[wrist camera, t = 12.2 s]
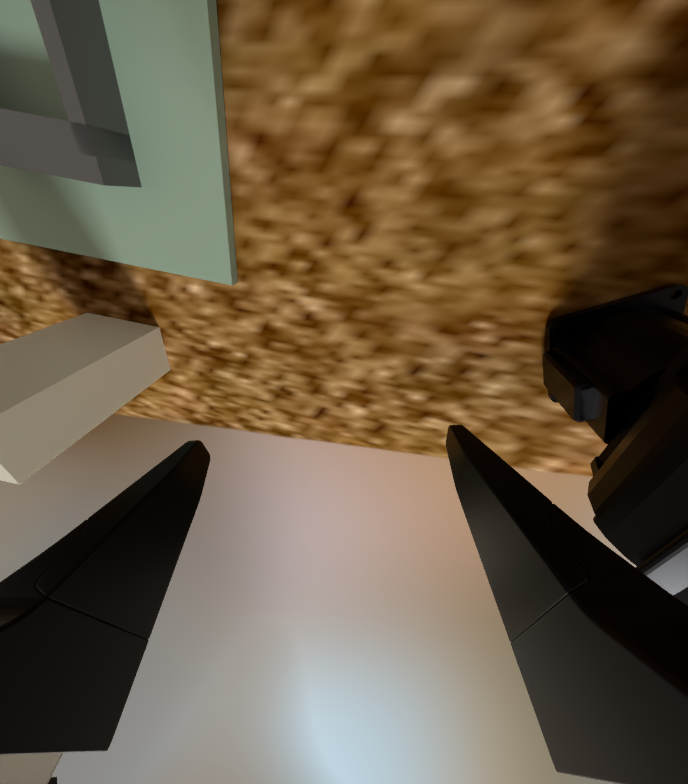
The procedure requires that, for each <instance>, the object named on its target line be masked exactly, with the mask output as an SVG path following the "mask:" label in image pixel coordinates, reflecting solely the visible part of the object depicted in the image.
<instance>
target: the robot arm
mask: <svg viewBox="0 0 688 784" xmlns="http://www.w3.org/2000/svg"><path fill="white" fill-rule="evenodd" d="M674 291H676V293H675V294H674V295H673V296H671V294H672V293H673V292H674ZM670 296H671V297H670ZM687 296H688V287H687V286H685V285H681V284H677V283H675V284H670V285H667V286H663V287H660V288H656V289H653V290H649V291H646V292H643V293H639V294H636V295H632V296H629V297H625V298H622V299H618V300H615V301H611V302H608V303H605V304H601V305H598V306H594V307H591V308H587V309H584V310H580V311H577V312H573V313H570V314H566V315H563V316H560V317H556V318H553V319H551V320H550V321H549V322H548V323H547V325H546V341H547V351H546V352H545V353H544V355H543V375H544V385H545V386H546V388H547V389H548V396H549V398H550V399H551V400H552V401H553V402H559V403H560V405H561V406H562V407H563V408H564V409H565V411H566V412H567V413H568V414H569V415H570V417H571V418H572V419H573V420H575V421H576V422H584V421H586V422H587V423H588V425H589V426H590V427H591V428H592V429H593V430H594V431H595V433H596V434H597V435H598V436H599V437H600V438H601V439H602V440H603V442H604V443H606V444H608V445H607V447H606V448H605V449H604V451H603V452H602V453H601V454H600V456H599V457H595V458H594V460H593V461H592V462H591V469H592V473H593V478H592V479H591V480H590V482H589V487H588V497H589V500H590V502H591V505H592V508H593V511H594V513H595V516H594V518H593V520H594V523H595V524H596V525H597V527H598V528H599V529H600V530H601V532H602V533H603V535H604V536H605V537H606V538H607V539H608V540H609V541H610V542H611V543H612V544H613V545H614V546H615V547H616V548H617V549H618V550H619V551H620V552H621V553H622V554H623V555H624V556H625V557H626V558H627V559H629V560H630V561H631V562H632V563H634V564H635V565H636V566H637V567H636V568H635V567H634V566H632V565H631V564H630V563H628V562H627V561H626V560H624V559H623V558H622V557H620V556H619V555H618V554H616V553H615V552H614V551H612V550H611V549H609V548H608V547H607V546H606V545H604V544H603V543H602V542H600V541H599V540H598V539H596V538H595V537H594V536H592V535H591V534H590V533H589V532H587V531H586V530H585V529H584V528H582V527H581V526H580V525H579V524H578V523H576V522H575V521H574V520H573V519H572V518H570V517H569V516H568V515H567V514H566V513H564V512H563V511H562V510H561V509H560V508H558V507H557V506H556V505H555V504H552V502H551V501H550V500H549V499H548V498H547V497H546V496H544V495H543V494H542V493H541V492H540V491H539V490H538V489H536V488H535V487H534V486H533V485H531V483H529V482H528V481H527V480H526V479H525V478H524V477H522V476H521V475H520V474H519V473H518V472H516V471H515V470H514V469H513V468H512V467H511V466H510V465H508V464H507V463H506V462H505V461H504V460H503V459H501V458H500V457H499V456H498V455H497V454H496V453H494V452H493V451H492V450H491V449H490V448H489V447H487V446H486V445H485V444H484V443H483V442H482V441H480V440H479V439H478V438H477V437H476V436H475V435H473V434H472V433H471V432H470V431H469V430H468V429H466V428H465V427H464V426H463V425H450V426H449V428H448V433H447V439H446V448H447V452H448V457H449V461H450V465H451V470H452V474H453V479H454V483H455V487H456V490H457V493H458V496H459V499H460V502H461V505H462V508H463V510H464V513H465V516H466V519H467V522H468V524H469V527H470V530H471V533H472V536H473V539H474V541H475V544H476V547H477V550H478V552H479V555H480V558H481V561H482V564H483V567H484V569H485V572H486V575H487V578H488V581H489V584H490V586H491V589H492V592H493V595H494V598H495V600H496V603H497V606H498V609H499V612H500V614H501V617H502V620H503V623H504V625H505V628H506V631H507V634H508V637H509V640H510V642H511V646H512V649H513V651H514V654H515V657H516V660H517V663H518V666H519V668H520V671H521V674H522V677H523V679H524V682H525V685H526V688H527V691H528V693H529V696H530V699H531V702H532V705H533V707H534V711H535V713H536V716H537V719H538V721H539V724H540V727H541V730H542V733H543V736H544V739H545V742H546V744H547V747H548V750H549V753H550V756H551V758H552V761H553V763H554V766H555V769H556V771H557V772H560V773H564V774H570V775H576V776H581V777H586V778H591V779H597V780H603V781H608V782H613V783H614V784H688V316H687V315H685V314H683V313H684V309H685V304H686V300H687ZM557 324H560V326H559V327H558V328H556V329H554V326H555V325H557ZM209 463H210V454H209V452H208V451H207V449H206V448H205V446H204V445H203V443H202V442H201V441H199V440H195V441H188V442H187V443H185V444H184V445H183V446H181V447H180V448H179V449H177V450H176V451H175V452H174V453H172V454H171V455H170V456H168V457H167V458H166V459H164V460H163V461H162V462H160V463H159V464H158V465H157V466H155V467H154V468H153V469H151V470H150V471H149V472H147V473H146V474H145V475H144V476H142V477H141V478H140V479H139V480H137V481H136V482H135V483H133V484H132V485H131V486H129V487H128V488H127V489H126V490H124V491H123V492H122V493H120V494H119V495H118V496H116V497H115V498H114V499H112V500H111V501H110V502H109V503H107V504H106V505H105V506H103V507H102V508H101V509H100V510H98V511H97V512H96V513H94V514H93V515H92V516H90V517H89V518H88V520H85V521H84V522H83V523H81V524H80V525H79V526H78V527H76V528H75V529H74V530H72V531H71V532H70V533H68V534H67V535H66V536H65V537H63V538H62V539H60V540H59V541H58V542H56V543H55V544H54V545H52V546H51V547H49V548H48V549H47V550H45V551H44V552H42V553H41V554H40V555H38V556H37V557H35V558H34V559H33V560H31V561H30V562H28V563H27V564H26V565H24V566H23V567H21V568H20V569H18V570H17V571H16V572H14V573H13V574H11V575H10V576H8V577H7V578H6V579H4V580H3V581H1V582H0V784H57V777H51V776H52V774H53V772H54V770H55V768H56V766H57V764H58V762H59V760H60V758H61V756H62V754H63V753H68V752H97V751H107V750H108V748H109V746H110V743H111V741H112V739H113V736H114V734H115V730H116V728H117V725H118V722H119V720H120V717H121V714H122V711H123V709H124V706H125V703H126V701H127V698H128V695H129V692H130V690H131V687H132V684H133V681H134V679H135V676H136V673H137V670H138V668H139V665H140V662H141V660H142V657H143V654H144V651H145V649H146V646H147V643H148V639H149V637H150V635H151V632H152V629H153V626H154V624H155V621H156V618H157V616H158V613H159V610H160V607H161V605H162V602H163V599H164V597H165V594H166V591H167V588H168V586H169V583H170V580H171V577H172V575H173V572H174V569H175V566H176V564H177V561H178V558H179V556H180V553H181V550H182V547H183V544H184V542H185V539H186V536H187V534H188V531H189V528H190V526H191V523H192V520H193V517H194V515H195V512H196V509H197V506H198V503H199V501H200V497H201V494H202V490H203V486H204V482H205V478H206V474H207V470H208V467H209Z"/></svg>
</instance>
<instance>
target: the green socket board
mask: <svg viewBox="0 0 688 784" xmlns="http://www.w3.org/2000/svg"><path fill="white" fill-rule="evenodd" d="M0 239H5V240H10V241H15V242H20V243H25V244H30V245H35V246H40V247H45V248H50V249H55V250H60V251H65V252H70V253H75V254H79V255H84V256H89V257H94V258H99V259H104V260H109V261H114V262H119V263H124V264H129V265H134V266H139V267H144V268H149V269H154V270H159V271H163V272H168V273H173V274H178V275H183V276H188V277H193V278H198V279H203V280H208V281H213V282H218V283H223V284H228V285H234V284H236V283H238V280H237V267H236V254H235V241H234V228H233V215H232V201H231V188H230V175H229V162H228V149H227V136H226V122H225V109H224V96H223V83H222V70H221V56H220V43H219V30H218V17H217V4H216V0H0Z"/></svg>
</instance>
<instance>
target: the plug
mask: <svg viewBox="0 0 688 784" xmlns="http://www.w3.org/2000/svg"><path fill="white" fill-rule="evenodd" d="M169 370H171V369H170V366H169V362H168V358H167V354H166V351H165V347H164V343H163V340H162V336H161V332H160V328H159V327H156V326H151V325H146V324H141V323H136V322H131V321H126V320H122V319H117V318H112V317H107V316H102V315H97V314H92V313H85V314H82V315H79V316H77V317H74V318H71V319H69V320H66V321H63V322H60V323H58V324H55V325H52V326H50V327H47V328H44V329H41V330H39V331H36V332H33V333H30V334H28V335H25V336H22V337H20V338H17V339H14V340H11V341H9V342H6V343H3V344H1V345H0V480H1V481H6V482H10V483H15V484H19V485H20V484H21V483H23V482H24V481H25V480H26V479H28V478H29V477H31V476H32V475H33V474H34V473H36V472H37V471H38V470H40V469H41V468H42V467H44V466H45V465H46V464H48V463H49V462H50V461H51V460H53V459H54V458H55V457H57V456H58V455H59V454H61V453H62V452H63V451H65V450H66V449H67V448H68V447H70V446H71V445H72V444H74V443H75V442H76V441H78V440H79V439H80V438H81V437H83V436H84V435H85V434H87V433H88V432H89V431H91V430H92V429H93V428H95V427H96V426H97V425H99V424H100V423H101V422H103V421H104V420H105V419H106V418H108V417H109V416H110V415H112V414H113V413H114V412H116V411H117V410H118V409H120V408H121V407H122V406H124V405H125V404H126V403H128V402H129V401H130V400H131V399H133V398H134V397H135V396H137V395H138V394H139V393H141V392H142V391H143V390H145V389H146V388H147V387H148V386H150V385H151V384H152V383H154V382H155V381H156V380H158V379H159V378H160V377H162V376H163V375H164V374H166V373H167V372H168V371H169Z"/></svg>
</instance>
